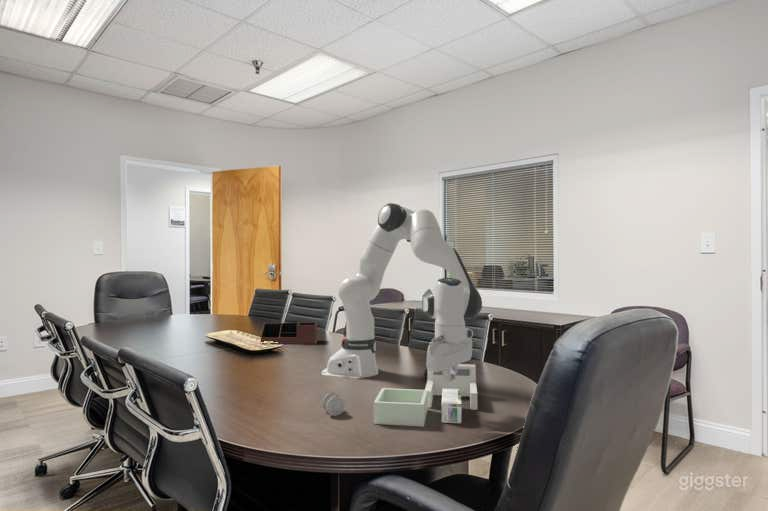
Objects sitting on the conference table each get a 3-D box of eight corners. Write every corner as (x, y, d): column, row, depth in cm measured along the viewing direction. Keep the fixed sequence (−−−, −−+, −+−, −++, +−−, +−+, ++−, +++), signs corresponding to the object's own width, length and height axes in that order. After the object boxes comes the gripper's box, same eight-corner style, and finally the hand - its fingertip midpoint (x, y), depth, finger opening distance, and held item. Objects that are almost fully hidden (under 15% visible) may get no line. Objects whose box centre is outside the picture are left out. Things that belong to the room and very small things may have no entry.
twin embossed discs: (326, 417, 135) (326, 396, 135) (322, 412, 139) (322, 392, 139) (344, 414, 137) (344, 394, 137) (340, 410, 141) (340, 390, 141)
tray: (373, 423, 129) (373, 402, 129) (382, 407, 143) (381, 388, 143) (423, 426, 127) (423, 404, 127) (427, 409, 141) (427, 389, 141)
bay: (424, 407, 143) (424, 375, 143) (428, 392, 159) (427, 362, 159) (477, 409, 141) (477, 376, 141) (475, 394, 156) (475, 364, 156)
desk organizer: (316, 346, 241) (316, 324, 241) (259, 347, 239) (259, 325, 239) (318, 342, 251) (318, 322, 251) (263, 343, 249) (263, 322, 249)
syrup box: (460, 407, 143) (462, 424, 129) (441, 406, 144) (441, 423, 130) (460, 388, 143) (462, 403, 129) (441, 387, 144) (441, 402, 130)
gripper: (439, 340, 126) (440, 391, 126) (475, 330, 142) (476, 375, 142) (420, 337, 130) (421, 386, 130) (457, 328, 146) (458, 372, 146)
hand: (450, 380), depth 136 cm, fingers closed
